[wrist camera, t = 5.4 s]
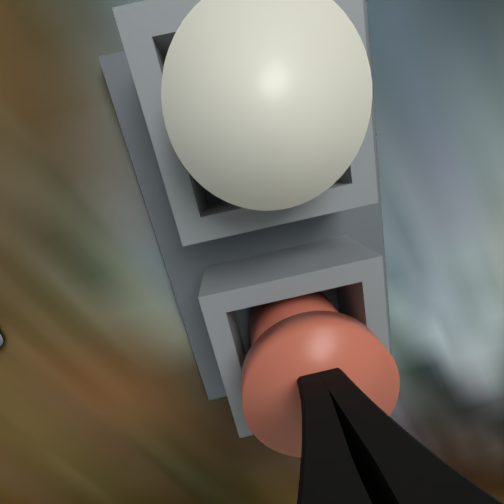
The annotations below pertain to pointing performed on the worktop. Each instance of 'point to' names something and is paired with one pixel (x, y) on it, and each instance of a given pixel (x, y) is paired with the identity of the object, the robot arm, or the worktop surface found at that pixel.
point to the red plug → (307, 364)
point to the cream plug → (266, 98)
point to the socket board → (243, 217)
